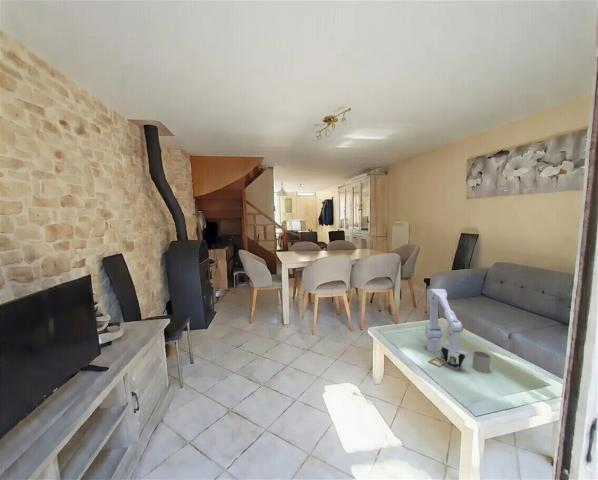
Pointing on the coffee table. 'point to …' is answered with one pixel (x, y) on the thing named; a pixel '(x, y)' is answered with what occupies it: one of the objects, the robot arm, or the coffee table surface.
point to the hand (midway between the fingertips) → (452, 363)
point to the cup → (481, 362)
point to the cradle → (452, 367)
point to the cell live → (452, 361)
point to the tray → (437, 361)
